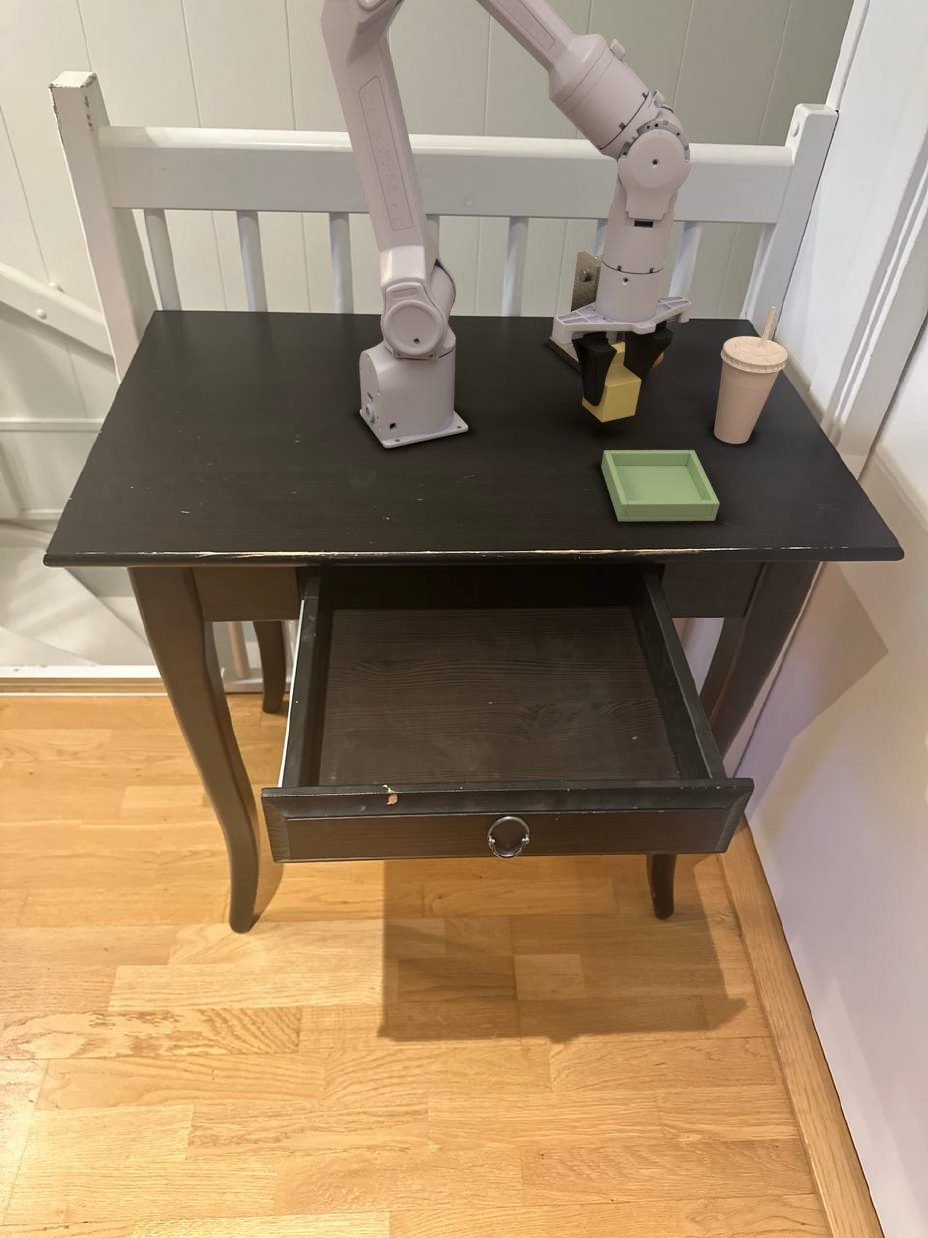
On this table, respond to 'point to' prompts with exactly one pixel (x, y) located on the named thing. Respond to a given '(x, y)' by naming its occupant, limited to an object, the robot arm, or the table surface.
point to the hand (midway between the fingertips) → (609, 397)
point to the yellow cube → (617, 395)
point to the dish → (658, 485)
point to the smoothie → (746, 382)
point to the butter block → (619, 353)
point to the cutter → (583, 304)
